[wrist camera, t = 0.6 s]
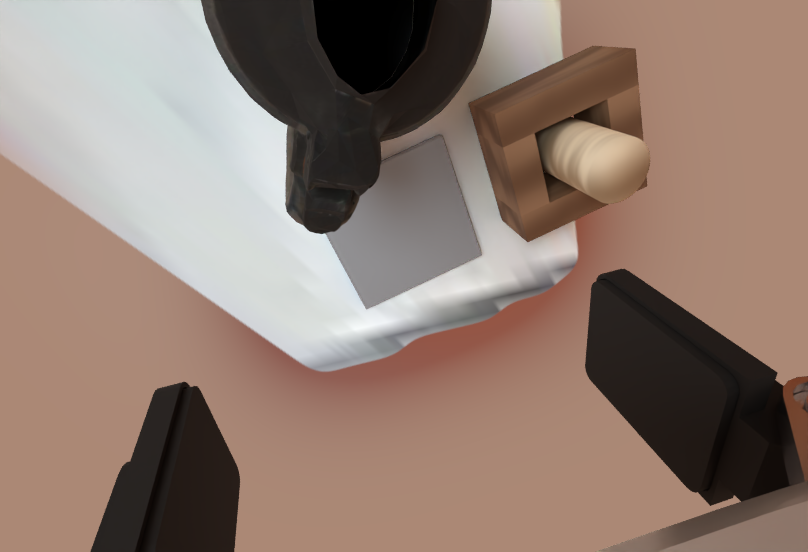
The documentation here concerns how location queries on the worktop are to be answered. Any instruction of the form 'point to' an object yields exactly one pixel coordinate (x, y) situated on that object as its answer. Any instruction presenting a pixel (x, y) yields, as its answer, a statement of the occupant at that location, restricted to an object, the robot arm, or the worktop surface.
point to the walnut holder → (544, 106)
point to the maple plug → (594, 159)
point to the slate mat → (406, 225)
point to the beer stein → (341, 92)
